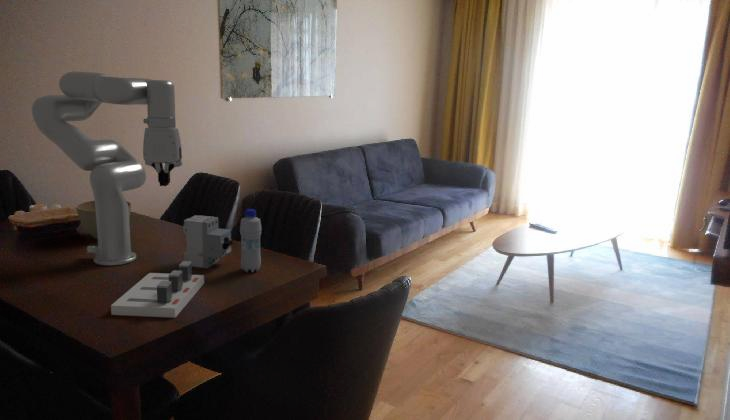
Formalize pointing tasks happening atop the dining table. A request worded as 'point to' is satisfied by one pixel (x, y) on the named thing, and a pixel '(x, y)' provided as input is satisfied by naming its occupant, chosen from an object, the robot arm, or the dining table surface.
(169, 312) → the breaker panel
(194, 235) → the circuit breaker
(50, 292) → the dining table surface
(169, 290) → the block
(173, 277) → the block
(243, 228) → the bottle
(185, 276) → the block
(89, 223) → the olive rounded bowl
